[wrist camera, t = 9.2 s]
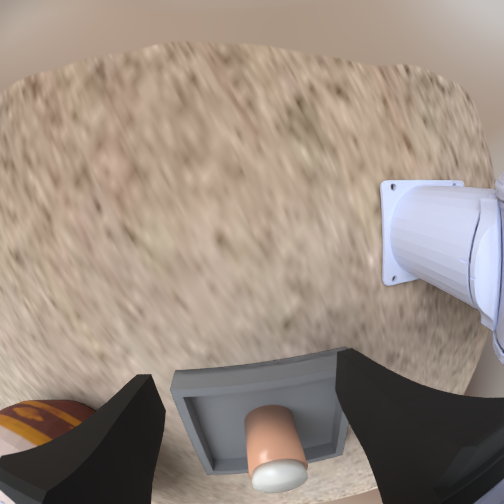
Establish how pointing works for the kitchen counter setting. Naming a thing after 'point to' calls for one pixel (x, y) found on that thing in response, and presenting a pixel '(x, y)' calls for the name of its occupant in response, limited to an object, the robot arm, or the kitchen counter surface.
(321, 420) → the tray
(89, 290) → the kitchen counter surface
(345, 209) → the kitchen counter surface
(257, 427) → the shaker
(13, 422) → the jug
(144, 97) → the kitchen counter surface
